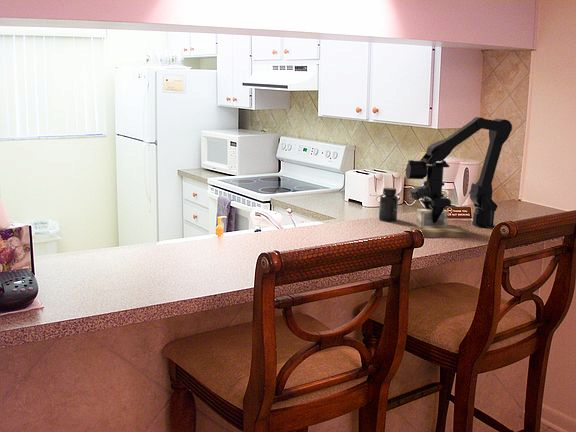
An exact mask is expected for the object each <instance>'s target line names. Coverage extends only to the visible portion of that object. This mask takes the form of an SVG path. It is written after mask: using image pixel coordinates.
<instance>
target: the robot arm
mask: <svg viewBox="0 0 576 432" xmlns="http://www.w3.org/2000/svg"><path fill="white" fill-rule="evenodd" d="M480 130H487V131H488V138H489V139H488V140H489V143H488V147H487V149H486V154H485V157H484V161H483V164H482V168H481V172H480V175H479V178H478V180H477V181H476V183H474V182H473V183H472V182H471V186H470V191H468V194H469V199H470V201H471V202H472V204H473V206H474V212H473V217H472V222H471V224H472V225H474V226H476V227H478V228H495V227H496V225H495V224H494V221H495V212H496V211H497V209H498V204H496V202H495V201H494V200H493V192H494V191H493V184H492V183H493V180H494V176H495V172H496V170H497V165H498V162H499V159H500V155H501V153H502V148H503V145H504V144H505V143H506V141H507V140H508V139H509V137H510V134H511V132H512V131H513V124H512V122H511V121H510V120H508V119H503V118H495V119H487V118H484V117H480V116H476V117H474V118H472V119H471V120H470V121H469V122H467V123H466V124H465V125H463V126H461V128H459V129H458V130H455V132H454V133H453V132H452V134H450V135H449V136H448V137H446V138H444V139H441V140H438V141H436V142H434V143H431V144H430V145H429V146H428V147H427V148H426V152H425V153H424V155H423V156H422V157H421V159H419V160H413V159H408V161H407V165H406V168H405V177H406V180H424V179H425V178H426V179H425V180H424V181H423V185H420V186H417V187H415V188H412V189H410V190H409V192H410V196H411V199H412V200H414V201H420V202H421V204H422V205H423V206H424V209H432V220H433V223H436V222H437V220H438V218H439V217H440V215H441V213H442V212H443V210H446V209H445V208H447V207H448V208H449V207H451V206H452V200H451V199H450V198H448V197H446V196H444V193H443V187H445V182H444V181H443V179H444V168H450V167H451V166H450V165H449V163H447V161H446V160H445V159H446V158H447V157H448V156H449V155H450V154H451V153H452V152H453V150H454V149H455V148H456V147H457V146H459V145H460V144H462V143H463V142H464V141H466V140H467V139H469V138H470V137H472V136H473V135H475V133H477V132H479V131H480ZM494 226H495V227H494Z"/></svg>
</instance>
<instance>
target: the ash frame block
mask: <svg viewBox="0 0 576 432" xmlns="http://www.w3.org/2000/svg"><path fill="white" fill-rule="evenodd" d="M448 213H449V211H448V210H446V209H444V210H443V212H442V213H441V215H440V217H439V218H438V220H437V222H436V223H433V220H432V209H425V208H417V209H416V222H415V223H416V224H415V225H416V226H448Z"/></svg>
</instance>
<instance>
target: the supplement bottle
mask: <svg viewBox="0 0 576 432" xmlns="http://www.w3.org/2000/svg"><path fill="white" fill-rule="evenodd" d="M382 193H383V194H382V195H381V196H380V198H379V209H378V210H379V211H378V219H379V220H380V221H382V222H396V221H397V219H398V209H399V208H398V207H399V197H398V196H397V188H394V187H383V190H382Z"/></svg>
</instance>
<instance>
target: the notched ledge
mask: <svg viewBox="0 0 576 432" xmlns="http://www.w3.org/2000/svg"><path fill="white" fill-rule="evenodd" d="M414 229H418V230H421V231H422V233H423V235H424V237H423V238H448V237H449V238H452V237H453V238H454V237H455V238H457V237H459V238H460V237H462V238H465V237H466V238H467V237H469V238H470V237H471V233H472V232H471V229H470V228H463V227H462V226H461V225H447V226H418V225H416V226H410V229H409V230H414Z"/></svg>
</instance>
